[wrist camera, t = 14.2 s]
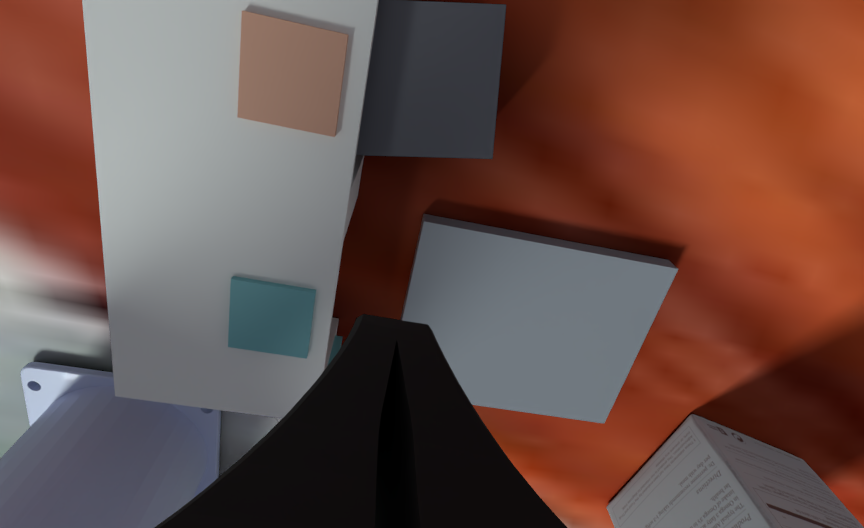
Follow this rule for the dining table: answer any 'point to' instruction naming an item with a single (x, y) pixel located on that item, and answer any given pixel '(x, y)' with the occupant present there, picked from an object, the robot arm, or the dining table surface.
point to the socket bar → (225, 190)
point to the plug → (433, 80)
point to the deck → (533, 315)
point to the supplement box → (725, 486)
